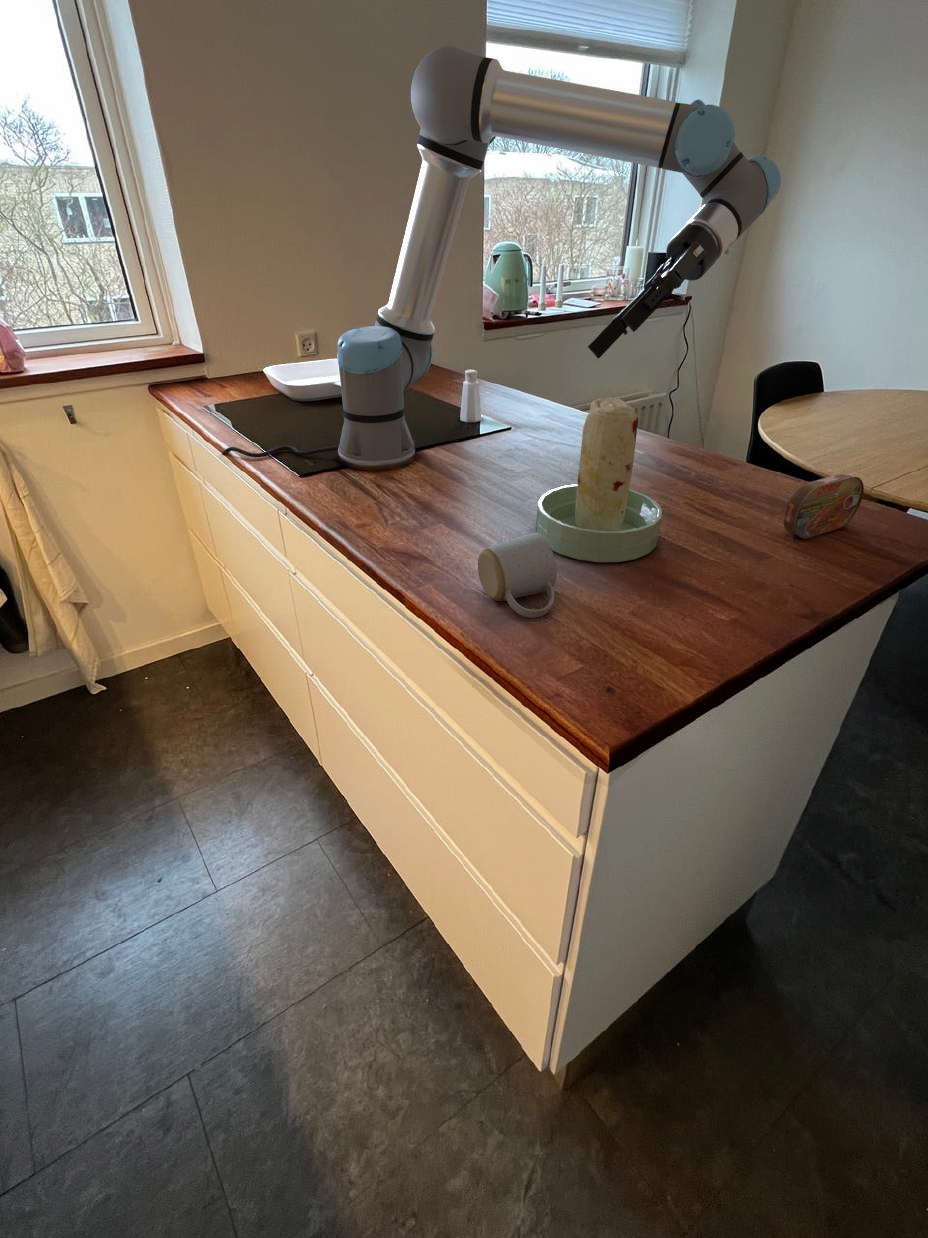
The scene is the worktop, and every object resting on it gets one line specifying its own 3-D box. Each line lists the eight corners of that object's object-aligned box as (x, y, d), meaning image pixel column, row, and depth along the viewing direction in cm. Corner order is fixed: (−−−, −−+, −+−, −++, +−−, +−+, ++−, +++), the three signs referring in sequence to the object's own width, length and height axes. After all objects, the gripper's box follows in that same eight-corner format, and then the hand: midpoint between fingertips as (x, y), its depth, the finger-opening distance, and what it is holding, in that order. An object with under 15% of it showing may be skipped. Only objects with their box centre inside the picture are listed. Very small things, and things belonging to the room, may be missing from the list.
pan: (349, 373, 191) (347, 356, 188) (415, 405, 161) (414, 386, 158) (260, 384, 179) (257, 366, 176) (313, 420, 149) (311, 400, 146)
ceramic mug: (473, 586, 84) (474, 534, 80) (526, 573, 87) (530, 522, 83) (513, 628, 76) (516, 573, 72) (569, 611, 80) (576, 558, 75)
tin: (790, 543, 95) (807, 490, 91) (773, 535, 98) (788, 483, 93) (855, 524, 101) (873, 474, 97) (837, 517, 104) (854, 467, 99)
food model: (632, 543, 94) (655, 407, 83) (594, 551, 92) (612, 412, 81) (596, 518, 102) (613, 390, 91) (560, 525, 100) (573, 394, 89)
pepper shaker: (455, 421, 149) (455, 371, 143) (464, 415, 153) (464, 367, 147) (477, 423, 147) (477, 374, 141) (485, 417, 152) (486, 369, 145)
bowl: (569, 573, 88) (572, 540, 85) (517, 521, 102) (519, 491, 99) (680, 553, 93) (687, 522, 90) (616, 506, 107) (620, 478, 104)
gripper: (764, 223, 89) (663, 331, 88) (675, 293, 113) (595, 377, 113) (731, 180, 87) (628, 288, 87) (648, 259, 112) (567, 345, 111)
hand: (609, 339), depth 100 cm, fingers open, 13 cm apart
